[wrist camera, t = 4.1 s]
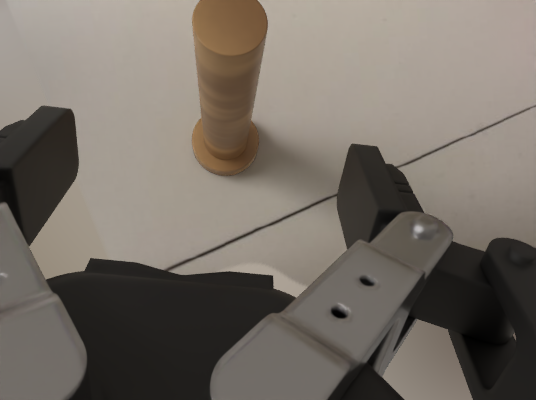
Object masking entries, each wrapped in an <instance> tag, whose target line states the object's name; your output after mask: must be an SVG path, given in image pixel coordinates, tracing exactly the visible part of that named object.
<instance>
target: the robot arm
mask: <svg viewBox="0 0 536 400" xmlns="http://www.w3.org/2000/svg"><path fill="white" fill-rule="evenodd" d="M78 166H79V157H78V147H77V137H76V126H75V117H74V113H73V111H72V110H71V109H67V108H59V107H51V106H41V107H40V108H39V109H38V110H36V111H35V112H34V113H33V114H32V115H31V116H30V117H29V118H28V119H26V120H20V121H18V122H15V123H13V124H11V125H8V126H6V127H4V128H3V129H2V130H0V400H404V399H403V398H402V397H401V396H400V395H399V394H398V393H397V392H396V391H395V390H394V389H393V388H392V387H391V386H390V385H389V384H388V383H387V382H386V381H385V380H384V379H383V378H382V376H383V374H384V372H385V370H386V368H387V367H388V365H389V363H390V362H391V360H392V359H393V357H394V356H395V354H396V353H397V351H398V349H399V348H400V346H401V345H402V343H403V342H404V340H405V339H406V337H407V335H408V334H409V332H410V331H411V329H412V327H413V326H414V324H415V323H416V321H417V319H419V320H422V321H425V322H428V323H431V324H434V325H437V326H440V327H443V328H445V329H448V332H449V335H450V338H451V340H452V343H453V346H454V349H455V352H456V354H457V357H458V359H459V363H460V365H461V368H462V370H463V373H464V376H465V379H466V382H467V385H468V387H469V390H470V393H471V395H472V398H473V400H536V248H534V247H532V246H530V245H528V244H526V243H524V242H521V241H518V240H515V239H510V238H496V239H493V240H492V241H491V242H490V243H489V245H488V247H487V249H486V251H485V252H484V251H481V250H478V249H474V248H471V247H468V246H464V245H461V244H458V243H456V242H453V241H452V240H453V233H452V231H451V229H450V228H449V227H448V226H447V225H446V224H445V223H444V222H442V221H441V220H439V219H437V218H435V217H433V216H431V215H428V214H425V213H424V212H423V210H422V208H421V206H420V204H419V202H418V200H417V198H416V196H415V194H413V191H412V189H411V187H410V186H409V183H408V181H407V179H406V177H405V176H404V174H403V173H402V172H401V171H400V170H398V169H397V168H396V167H395V166H394V165H392V164H385V162H384V159H383V157H382V155H381V153H380V151H379V149H378V147H377V146H368V145H360V144H351V146H350V148H349V150H348V154H347V158H346V161H345V165H344V169H343V173H342V177H341V181H340V185H339V189H338V194H337V210H338V214H339V218H340V222H341V226H342V230H343V234H344V238H345V242H346V246H347V251H346V252H345V253H343V254H342V255H341V256H340V257H339V258H338V259H337V260H336V261H335V262H334V263H333V264H332V265H331V266H330V267H329V268H328V269H327V270H326V271H325V272H323V273H322V274H321V275H320V276H319V277H318V278H317V279H316V280H315V281H314V282H313V283H312V284H311V285H310V286H309V287H308V288H307V289H306V290H304V291H303V292H302V293H301V294H300V295H299V296H298V297H297V298H296V297H294V296H292V295H290V294H287V293H285V292H282V291H280V290H276V289H273V276H271V275H261V274H250V273H240V272H230V271H229V272H217V273H205V274H193V275H179V274H175V273H171V272H168V271H164V270H161V269H157V268H154V267H150V266H147V265H143V264H140V263H135V262H125V261H114V260H103V259H93V258H90V261H89V263H88V265H87V267H86V269H85V271H81V272H74V273H68V274H64V275H60V276H56V277H53V278H50V279H47V280H45V278H44V276H43V274H42V272H41V270H40V268H39V266H38V264H37V262H36V260H35V258H34V256H33V254H32V252H31V250H30V248H29V246H30V245H31V243H32V242H33V240H34V239H35V237H36V236H37V235H38V233H39V232H40V230H41V229H42V227H43V226H44V224H45V223H46V221H47V220H48V218H49V217H50V216H51V214H52V213H53V211H54V210H55V208H56V207H57V205H58V204H59V202H60V201H61V199H62V198H63V197H64V195H65V193H66V192H67V190H68V189H69V188H70V186H71V185H72V183H73V182H74V180H75V179H76V176H77V173H78ZM514 332H515V335H516V340H515V339H514V337H513V334H514Z"/></svg>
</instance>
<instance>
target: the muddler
mask: <svg viewBox="0 0 536 400" xmlns="http://www.w3.org/2000/svg"><path fill="white" fill-rule="evenodd" d="M192 26H193V36H194V46H195V56H196V66H197V76H198V86H199V97H200V107H201V117H202V118H201V119H200V120H199V121H198V122H197V124H196V126H195V128H194V130H193V134H192V145H193V151H194V154H195V157H196V159H197V160H198V162H199V163H200V164H201V165H202V166H203V167H204V168H205V169H206V170H208V171H209V172H212V173H214V174H217V175H224V176H228V175H234V174H237V173H240V172H242V171H244V170H245V169H246V168H247V167H249V166H250V164H251V163H252V162H253V160H254V159H255V156H256V153H257V150H258V145H259V136H258V132H257V129H256V127H255V125H254V123H253V122H252V121H251V118H252V113H253V107H254V101H255V96H256V90H257V84H258V79H259V73H260V68H261V62H262V56H263V51H264V45H265V40H266V34H267V28H268V21H267V16H266V13H265V10H264V9H263V7H262V5H261V4H260V3H259V2H258V1H257V0H200V1H199V3H198V4H197V5H196V7H195V9H194V12H193V16H192Z"/></svg>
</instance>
